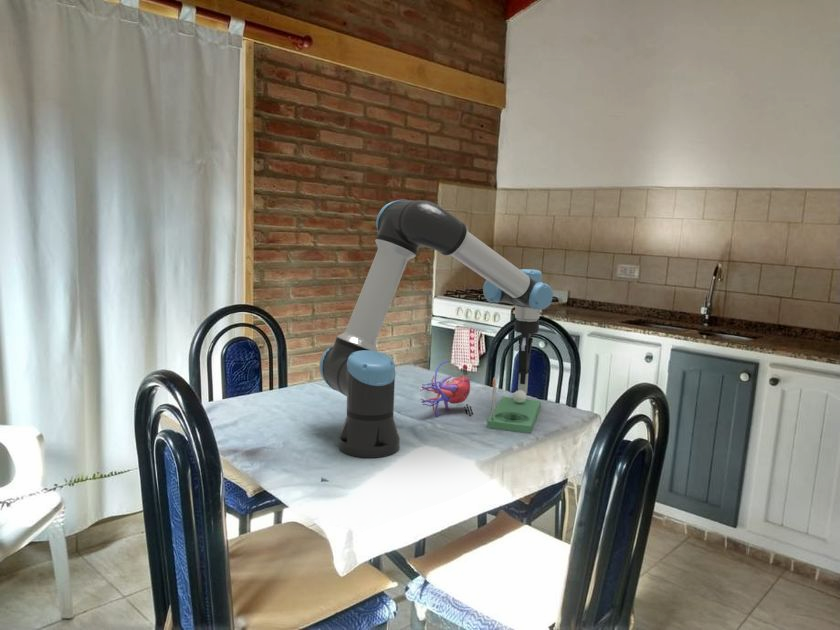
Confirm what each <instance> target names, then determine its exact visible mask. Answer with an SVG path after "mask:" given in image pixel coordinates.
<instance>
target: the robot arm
mask: <svg viewBox="0 0 840 630" xmlns="http://www.w3.org/2000/svg"><path fill="white" fill-rule="evenodd" d="M375 226H376V227H375V228H376V230H377V231H376V232H377V235H376V238H375V240H374V242H375V244H376V246H377V250H376V253H375V256H374V259H373V260H372V264H371V265H370V268H369V271H368V273H367V276H366V278H365V281H364V284H363V286H362V289H361V291H360V293H359V296H358V299H357V301H356V304H355V306H354V309H353V311H352V314H351V316H350V319H349V321H348V323H347V326H346V329H345V330H344V332H343V333H340V334H338V335H337V336H336V338H335V341H334V343H333V345H331V346H330V347H328V348H327V349H326V350H325V351H324V352H323V354H322V355H321V357H320V361H319V372H320V375H321V376H320V377H321V378H322V380H323V381H324V383H326V384H327V386H328V387H330V389H332V390H334V391H336V392H339V393H341V394H342V395H344V396H345V397H346V418H345V421H344V423H343V426H342V429H341V432H340V434H339V439H338V449H339V450H340V451H341V453H345V454H347V455H349V456H353V457H359V458H381V457H382V458H383V457H387V456H390V455H393V454H395V453H396V452H398V451H399V449H400V446H401V445H400V438H401V437H400V435H399V432H398V429H397V428H398V427H397V424H396V422H395V417H394V410H395V408H394V407H395V405H394V404H395V379H396V369H395V368H396V365H395V361H394V360H393V358H392V357H391V356H390V355H388V354H386V353H384V352H381V351H378V348H377V346H376V345H377V344H376V342H377V341H378V340H377V339H378V337H379V334H380V332H381V330H382V328H383V324H384V322H385V319H386V317H387V314H388V312H389V310H390V307H391V304H392V301H393V299H394V297H395V295H396V291H397V290H398V287H399V284H400V281H401V279H402V276H403V273H404V271H405V268H406V267H407V264H408V261H410V260H412V259H414V258H416V256H417V254H418V252H419V249H420V247H424V248H428V249H432V250H434V251H437V252H438V253H440V254H442V255H443V256H445V257H448V256H449V257H450V256H451V257H453V258H455V260H457V261H458V262H460V263H461V264H463V265H464V266H466V267H467V268H469V269H470V270H472V271H473V272H474V273H476V274H478V275H479V276H481V277H482V278H483V279H485V281H484V283H483V296H484V299H485V300H487V302H490V303H496V304H498V303H506V304H510V305H515V308H514V318H515V319H514V329H513V330H514V332H516V333H519V334H521V335H520V336H519V338H518V370H516V374H518V381H517V382H518V383H517V391H518V390H522V391H524V392H525V394H526V395H527V394H528V384H529V373H530V374H531V373H532V371H531V369H530V362H531V361H530V360H531V352H532V348H533V347H532V346H533V345H532V343H533V340H534V338H533V337H531V336H532V335H533V334H534V335H535V334H538V333H539V331H540V321H539V319H540V315H541V314H542V313H543V310H545V309H546V308H548V307H550V305H551V303H552V301H553V295H554V294H553V289H552V288H551V286H550V285H549V284H547V283H544V282H543V274H542V272H541V270H538V269H529V268H523V269H519V268H518V267H517V266H515V265H514V264H513V263H511V262H510V261H509V260H507V259H506V258H505V257H503V256H502V255H501V254H499V253H498V252H497V251H495V250H494V249H492V248H491V247H489V246H488V245H487V243H484V242H483V241H482V240H480V239H478V237H476V236H475V235H473V234H472V233H471V232H469V229H468V226H467V225H466V224H465V223H464V222H463V221H461V220H460V219H459V218H457V217H456V216H454V215H453V214H452V213H450V212H448V211H447V210H446V209H444V208H443V207H442V206H440V205H438V204H436V203H434V202H431V201H429V200H423V199H422V200H421V199H420V200H408V199H398V200H394V201H391V202H389V203H387V204H385V205H384V206H383V207H382V208H381V209H380V211H379V213H378V214H377V216H376V221H375Z"/></svg>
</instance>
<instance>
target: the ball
mask: <svg viewBox="0 0 840 630" xmlns="http://www.w3.org/2000/svg"><path fill="white" fill-rule="evenodd" d="M512 398H513V399H514V401H515V402H517V403H523V402H524V401H525V400H526V399H527V394H525V392H524V391H522V390H518V389H517V390H516V391H514V393H513V394H512Z"/></svg>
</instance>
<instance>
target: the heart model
mask: <svg viewBox="0 0 840 630" xmlns="http://www.w3.org/2000/svg"><path fill="white" fill-rule="evenodd" d="M448 362H450V360H449V359H448V360H445V361H443V362H441V363H440V364H438V366H437V367H436V370H435V372H434V376H432V378H431V380H430V381H431V382H430V383H429V382H428V383H425V384H424V383H421V384H422V386H421V388H422V389H419V391H420V392H423V391H424V390H425V391H427V392H433V393H434V394H437V395H436V397H432V398H428V399H423V398H421V403H422V406H427V407H432V410H433V412H432V413H433V414H435V416H436V418H438V417H439V415H438V407H439V403H440V402H442V401H443V404H444V408H445V409H446V410H450V407H449V403H450V404H455V405H456V404H461V403H463V402H466V400H467V399H468V396H469V394H470V392H471V380H470V378H469V377H467V376H466V375H468V367H467V366H466V365H465V364H464V366H462V367H461V368H460V370H461V371H460V372H462V374H463V375H462V376H457V377H454V378H453V379H451V378H452V376H451V375H449V376H447V377H444V378H442V379H441V381H437V376H438V371H439V369H440V367H441V366H442V365H443V364H446V363H448ZM449 379H451V380H450V381H449ZM444 383H445V384H444ZM425 386H426V387H425ZM427 403H428V404H427ZM464 410H465V414H466V415H468V416H469V417H472V415H474V413H473V409H472V405H471V406H470V405H468V403H466V406H464Z"/></svg>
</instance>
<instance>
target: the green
mask: <svg viewBox="0 0 840 630" xmlns="http://www.w3.org/2000/svg"><path fill="white" fill-rule="evenodd" d="M496 392H497V377H493V380H492V396H491V397H492V400H491V414H490V416H489V417H488V419H487V423H486V428H487V429H492V428H495V429H494V430H500V429H503V431H507V432H508V431H510V432H515V433H516V432H517V433H525V434H532V430H533V428H534V425H535V423H536V420H537V418H538V415H539V412H540V410H541V403H542V401H541V400H536V399H535V400H534V399H528V398H526V400H525V401H524V402H523V403H517V402H515V401H514V399H513V397H508V396H507V397H506V396H502V397H501V398H500V400H499V402H498V403H497V405H496Z"/></svg>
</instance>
